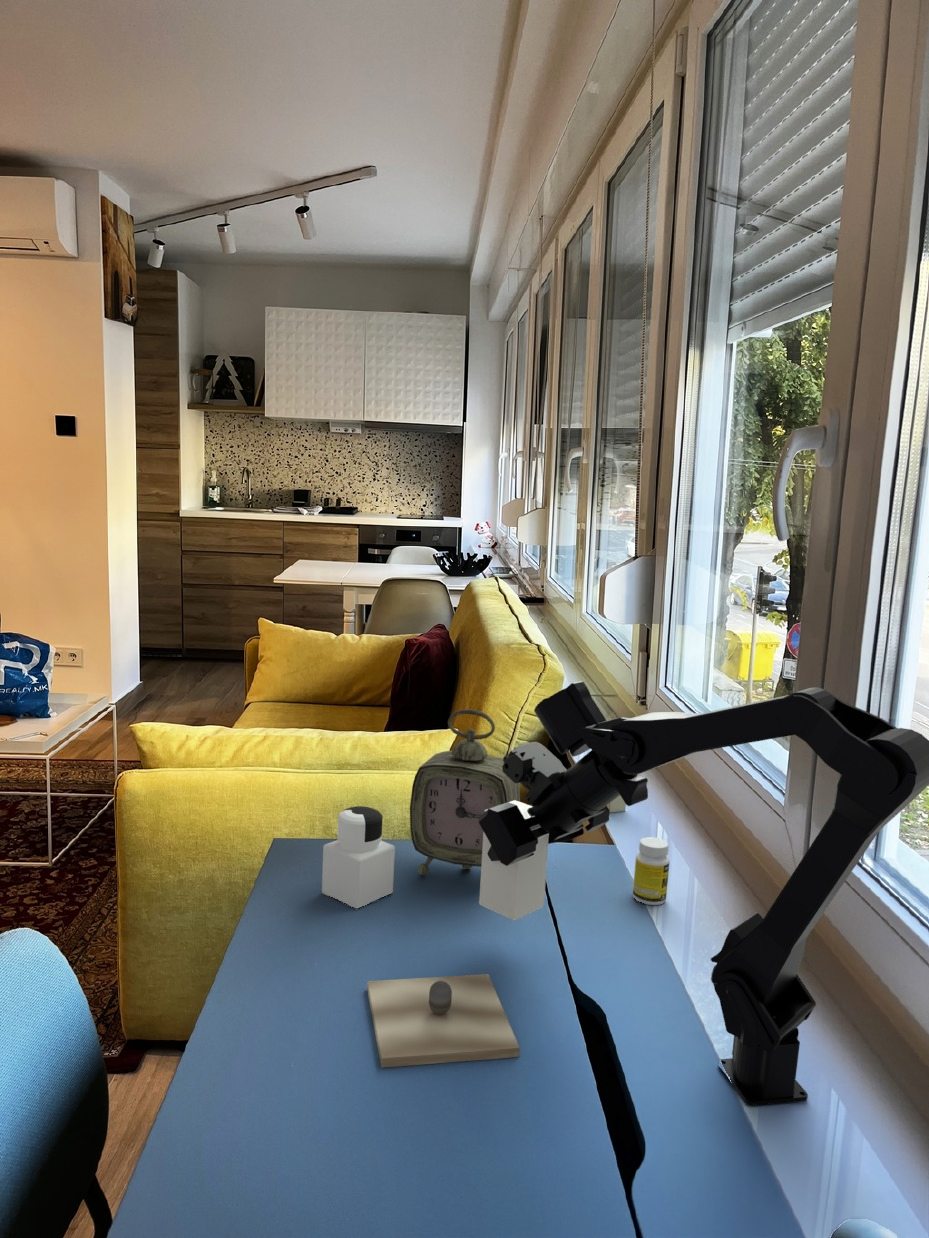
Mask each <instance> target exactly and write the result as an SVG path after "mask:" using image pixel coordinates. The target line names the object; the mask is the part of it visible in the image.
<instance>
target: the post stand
mask: <svg viewBox="0 0 929 1238" xmlns="http://www.w3.org/2000/svg"><path fill="white" fill-rule="evenodd" d="M366 985H367V987H366V989H367V997H368V1002H369V1007H370V1012H371V1017H372V1022H373V1023H372V1024H373V1031H374V1034H375V1041H376V1046H377V1050H378V1051H377V1052H378V1056H379V1062H380V1068H382V1069H383V1068H394V1067H396V1068H397V1067H408V1066H409V1067H410V1066H418V1065H431V1064H434V1065H435V1064H446V1063H447V1064H448V1063H455V1062H459V1063H460V1062H470V1061H471V1062H472V1061H482V1060H483V1061H485V1060H486V1061H487V1060H495V1059H496V1060H497V1059H498V1060H499V1059H507V1058H508V1059H510V1058H519V1057H520V1045H519V1043H518V1040H517V1038H516V1036H515V1033H514V1032H513V1028H512V1027H511V1024H510V1021H509V1019H508V1017H507V1015H506V1012H505V1010H504V1007H503V1005H502V1003H501V1001H500V999H499V998H500V997H499V996H498V993H497V990H496V989H495V985H494V984H493V982H492V980H491V977H490V975H489V973H486V974H483V973H481V974H470V975H469V974H468V975H466V974H465V975H449V976H447V975H446V976H436V977H433V976H432V977H415V978H414V977H413V978H400V979H383V980H379V979H378V980H367V984H366Z"/></svg>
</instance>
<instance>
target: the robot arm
mask: <svg viewBox="0 0 929 1238" xmlns="http://www.w3.org/2000/svg"><path fill="white" fill-rule="evenodd" d="M533 712H534V713H535V715H536V717H537V718H538V720H539V722H540V723H541V725H542V726H543V728H544V730H545V731H546V734H548V736H549V738H550V740H551V741H552V743H553V745H554V747H555V748H556V750H557V752H558V753H560V755H561V756H563V755H564V754H566V753H568V752H569V753H570V755H571V756H572V757H577V756H579V755H581V754H584V753H586V752H587V751H588V750H590V751H589V752H587V754H585V755H584V756H583V757H582V758H580V759H579V760H578V761H576V762H575V763H574V764H572V765H571V767H569V768H566V767H565V766H564V765H563V762H562V761H561V760H560V759H559V758H557V756H556V755H554V754H553V753H552V752H551V751H550V750H549V749H548V748H547V747H546V746H544V745H543V744H542V743H540V742H538V741H531V742H527V743H524V744H519V745H517V746H515V748H514V749H512V750H510V751H509V753H508V754H507V755H504V756H503V758H502V759H503V761H504V764H503V766H502V769H503V772H504V774H506V775H507V776H508V777H509V778H510V779H511V780H512V781H513V782H514V783H520V784H521V785H522V786H523V787H524V788H525V789H526V790H528V792H526V793H525V794H524V798H525V800H526V802H527V803H528V805H531V806H533V807H531V808H529V809H528V810H527V812H528V814H529V815H530V816H531V817H530V818H528V819H524V817H523V815H522V813H521V812H520V810H519V808H518V806H517V805H515V804H512V803H509V802H507V803H504V804H501V805H498V806H495V807H492V808H489V809H488V810H487V811H485V812H484V813H483V814H482V815H481V816H480V817H479V824H480V826H481V828H482V829H483V831H484V833H485V835H486V837H487V838H488V840H489V842H490V844H491V847H490V849H489V851H488V853H487V854H488V856H489V858H490V860H491V861H500V862H501V863H502V864H504V865H506V866H508V865H510V864H513V863H515V862H518V861H520V860H523V859H525V858H528V857H530V856H532V855H534V853H533V852H535V851H536V845H537V844H538V838H539V837H542V836H545V835H547V834H549V839H548V845H550V844H556V843H561V842H565V841H571V840H573V839H575V838H578V837H580V836H583V835H584V834H585V833H584V832H585V831H586V833H590V832H592V831H595V830H598V829H599V828H601V827H602V826H604V825H605V824H606V823H608V822H609V821H610V810H609V809H608V807H607V805H608V804H609V803H611V802H612V801H613V800H615V799H616V798H617V797H619V796H621V797H622V799H623V800H624V802H625V804H626V807H627V806H628V807H631V806H634V805H635V804H636V805H637V804H638V803H641V802H644V801H646V800H647V799H648V797H649V795H648V794H649V789H648V786H647V785H648V781H649V779H648V778H647V777H644V776H641V775H640V774H643V773H645V772H646V773H647V772H648V771H651V770H653V769H656V768H659V767H662V766H665V765H668V764H670V763H672V762H676V761H677V760H680V759H683V758H685V757H688V756H690V755H693V754H695V753H699V752H705V751H711V750H716V749H723V748H726V747H731V746H732V747H733V746H740V745H744V744H750V743H756V742H761V741H767V740H773V739H778V738H785V737H791V736H796V737H797V738H799V739H801V740H802V741H803V742H805V743H806V744H807V745H808V747H810V749H811V750H813V752H814V753H815V754H816V755H817V756H818V757H819V758H820V759H821V760H822V762H823V763H824V764H825V765H826V766H828V767H829V768H830V769H832V770H834V771H835V772H837V774H840V777H839V780H838V782H837V784H836V787H835V788H836V789H835V795H834V796H835V797H834V803H833V809H832V811H831V813H830V814H829V817H828V818H827V820H826V821H825V822H824V825H823V826H822V828H821V830H820V831H819V832H818V834H817V835H816V837H815V839H814V840H813V841H812V843H811V844H810V846H809V848H808V849H807V851H806V853H805V854H804V856H803V857H802V858H801V860H800V862H799V863H798V865H797V866H796V868H795V869H794V871H793V872H792V873H791V876H790V877H789V879H788V880H787V882H786V883H785V885H784V887H782V890H781V891H780V892H779V894H778V895H777V897H776V899H775V900H774V902H773V903H772V905H771V906H770V908H769V909H768V911H767V912H766V914H765V916H764V917H763V916H761V914H760V913H759V912H758V911H757V912H755V913H754V914H752V915H751V916H749V917H748V918H747V919H744V920H743V921H742V922H741V923H739V924H737V925H736V926H734V927H733V928H731V929H730V930H729V932H728V934H727V935H726V937H725V940H724V942H723V946H722V947H721V949H720V951H719V952H718V953H716V954H715V955H713V956H712V957H710V961H711V963H715V965H714V967H713V969H712V971H711V977H710V981H711V983H712V985H713V989H714V992H715V994H716V995H717V998H718V999H719V1003H720V1004H719V1005H720V1008H721V1013H722V1017H723V1022H724V1026H725V1031H726V1032H727V1033H728V1034H730V1035H732V1036H733V1043H732V1050H731V1051H732V1052H731V1055H732V1058H721V1059H719V1060H721V1062H722V1065H723V1067H724V1069H725V1071H726V1073H727V1074H728V1076H729V1077H730V1080H731V1082H732V1084H733V1085H732V1084H731V1085H732V1087H733V1088H734V1089H735V1091H736V1093H737V1094H738V1095H739V1096H740V1098H741V1099H742V1101H743V1102H744V1103H745V1104H746V1105H748V1106H750V1107H751V1106H753V1107H754V1106H763V1105H775V1104H784V1103H785V1104H786V1103H787V1104H788V1103H796V1102H797V1103H798V1102H804V1101H807V1100H808V1097H809V1095H808V1092H807V1091H806V1090H805V1089H804V1088H803V1087H802V1085H801V1084H800V1083H799V1082H798V1080H796V1078H797V1069H798V1062H799V1051H800V1045H801V1043H800V1040H799V1032H800V1031H799V1029H798V1027H800V1025H801V1024H802V1023H803V1022H805V1021H807V1020H808V1019H809V1018H810V1016H811V1014H812V1013H813V1011H814V1009H815V1008H816V1006H817V1002H816V1000H815V999H814V997H813V996H812V995H811V993H810V992H809V990H808V989H807V987H806V985H805V984H804V982H803V981H802V980H801V978H800V977H799V975H798V973H799V969H800V967H801V965H802V962H803V959H804V955H805V954H804V953H805V947H806V941H807V940H808V937H809V935H810V933H811V932H812V931H813V929H814V928H815V926H816V924H817V923H818V922H819V920H820V919H821V917H822V916H823V915H824V913H825V911H826V910H827V909H828V908H829V905H830V904H831V902H832V901H833V900H834V899H835V897H836V896H837V894H838V892H839V890H840V889H841V888H842V886H843V885H844V883H845V882H846V880H847V879H848V877H850V875H851V873H852V871H853V870H855V868H856V866H857V864H858V863H859V862H860V860H861V859H862V857H863V856H864V854H865V852H866V851H867V850H868V848H869V847H870V845H871V844H872V843H873V841H874V840H875V838H876V837H877V835H878V833H880V831H881V830H882V829H883V828H884V827H885V826H886V825H887V824H888V823H889V822H890V821H892V820H893V819H894V818H895V817H896V816H898V814H900V812H902V811H903V810H904V809H905V808H906V807H907V806H908V805H909V804H911V803H912V802H913V801H914V800H915V799H916V798H917V797H918V796H919V795H920V794H921V793H922V792H923V791H924V790H925V789H927V788H928V787H929V739H928V738H927V737H925V736H924V735H923V734H922V733H919V732H918V731H915V730H913V729H909V728H904V727H899V728H898V727H896V726H895V725H893V724H891V723H889V722H888V721H886V720H885V719H884V718H882V717H879V716H878V715H875V714H873V713H872V712H871V713H870V712H868V711H866V710H865V709H862V708H859V707H857V706H855V705H851V704H850V703H847V702H845V701H843V699H840V698H839V697H837V696H835V695H834V694H832V693H831V692H829V691H828V690H826V689H823V688H821V687H818V686H817V687H809V688H805V689H802V690H799V691H795V692H792V693H791V694H787V695H783V696H778V697H773V698H767V699H764V700H759V701H754V702H753V701H752V702H749V703H744V704H739V705H733V706H729V707H723V708H721V709H720V708H719V709H715V710H710V711H705V712H700V713H699V712H698V713H697V712H696V713H694V712H691V713H689V712H682V711H659V712H658V711H655V712H654V711H653V712H649V713H646V714H641V715H637V716H634V717H631V718H630V717H617V718H613V719H609V720H607V719H606V717H605V716H604V714H603V712H602V711H601V710H600V707H599V706H598V705H597V703H596V701H595V700H594V698H593V697H592V695H591V692H590V689H589V688H588V687H587V685H586V683H585V682H584V681H582V680H580V681H575V682H571V683H570V684H569V685H567V687H566V688H563V689H561V690H559V691H558V692H555V693H554V694H552V695H550V696H549V697H546V698H544V699H542V700H541V701H539V703H537V705H536V706H535V707H534V710H533ZM532 816H533V817H532ZM586 821H588V822H589V823H588V824H587V825H586V826H585V827H584V823H585V822H586ZM540 826H541V827H540ZM537 827H540V828H538V829H535V828H537ZM532 829H534V830H532ZM531 830H532V831H531ZM584 830H585V831H584Z"/></svg>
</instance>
